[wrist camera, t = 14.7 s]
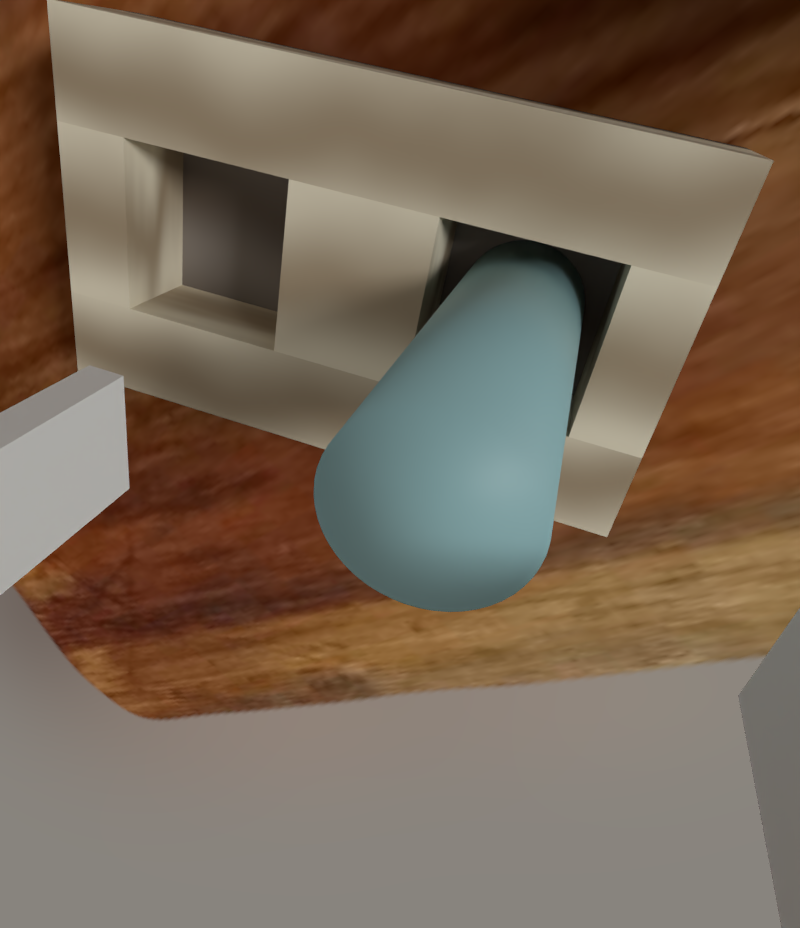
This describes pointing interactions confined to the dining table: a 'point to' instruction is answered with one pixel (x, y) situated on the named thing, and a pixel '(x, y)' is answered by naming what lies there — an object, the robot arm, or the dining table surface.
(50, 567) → the dining table surface
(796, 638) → the robot arm
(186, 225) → the hole block
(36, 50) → the dining table surface
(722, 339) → the dining table surface
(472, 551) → the pin
